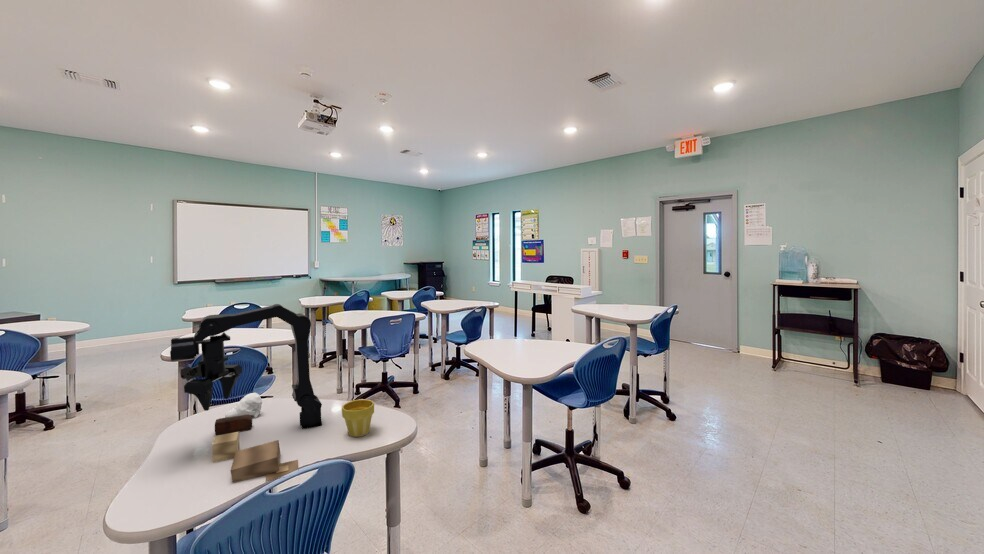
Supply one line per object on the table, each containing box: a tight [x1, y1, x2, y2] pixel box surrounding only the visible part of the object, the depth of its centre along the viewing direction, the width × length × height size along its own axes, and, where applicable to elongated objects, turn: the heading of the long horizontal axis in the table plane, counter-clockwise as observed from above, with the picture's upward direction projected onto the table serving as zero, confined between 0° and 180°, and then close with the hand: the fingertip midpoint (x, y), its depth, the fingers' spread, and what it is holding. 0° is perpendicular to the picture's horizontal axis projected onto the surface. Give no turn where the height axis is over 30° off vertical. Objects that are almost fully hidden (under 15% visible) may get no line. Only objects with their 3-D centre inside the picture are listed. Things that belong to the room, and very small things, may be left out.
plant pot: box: [341, 398, 375, 438], centre depth 136 cm, size 10×10×10 cm
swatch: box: [265, 459, 299, 482], centre depth 112 cm, size 8×8×1 cm
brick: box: [214, 415, 253, 436], centre depth 137 cm, size 11×4×5 cm, turn 117°
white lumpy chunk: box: [224, 392, 263, 419], centre depth 147 cm, size 6×8×12 cm
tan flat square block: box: [229, 439, 281, 483], centre depth 114 cm, size 11×11×4 cm
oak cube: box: [211, 432, 241, 463], centre depth 120 cm, size 6×6×6 cm
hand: (216, 404), depth 126 cm, fingers open, 9 cm apart
